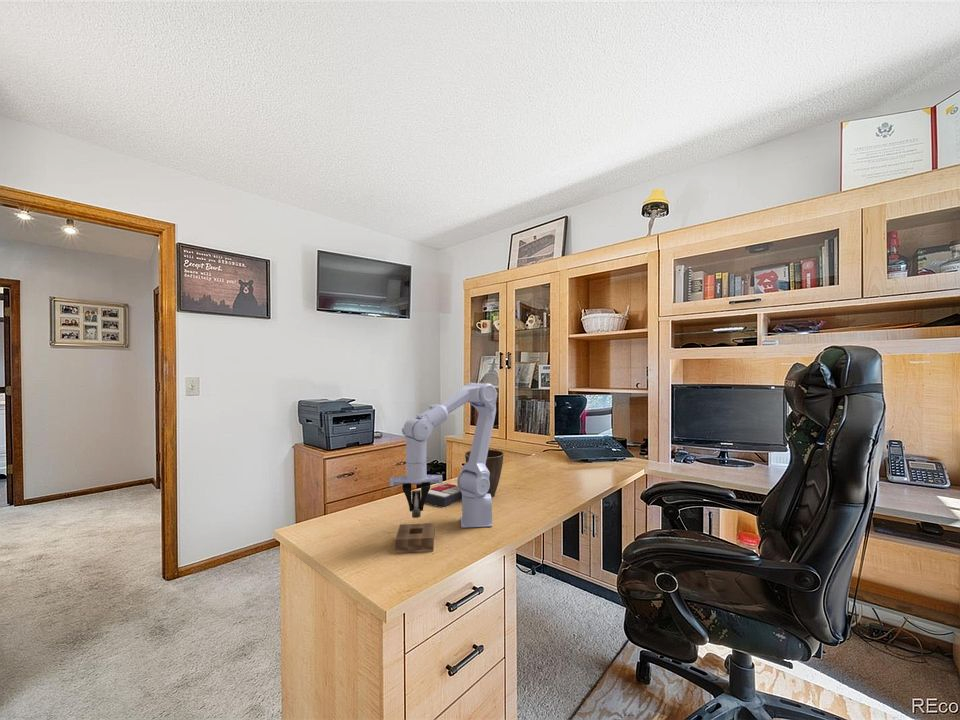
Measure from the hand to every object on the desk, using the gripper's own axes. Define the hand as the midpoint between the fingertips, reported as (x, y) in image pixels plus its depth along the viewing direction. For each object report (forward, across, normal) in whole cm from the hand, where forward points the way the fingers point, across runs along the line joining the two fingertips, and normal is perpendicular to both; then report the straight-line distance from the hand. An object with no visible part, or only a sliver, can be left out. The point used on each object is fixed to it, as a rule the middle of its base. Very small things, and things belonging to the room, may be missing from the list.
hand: (416, 509), depth 111 cm
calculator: (+10, -11, -35) cm, 38 cm away
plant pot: (+9, -26, -36) cm, 45 cm away
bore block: (+9, 0, +1) cm, 9 cm away
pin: (+2, 0, 0) cm, 2 cm away
